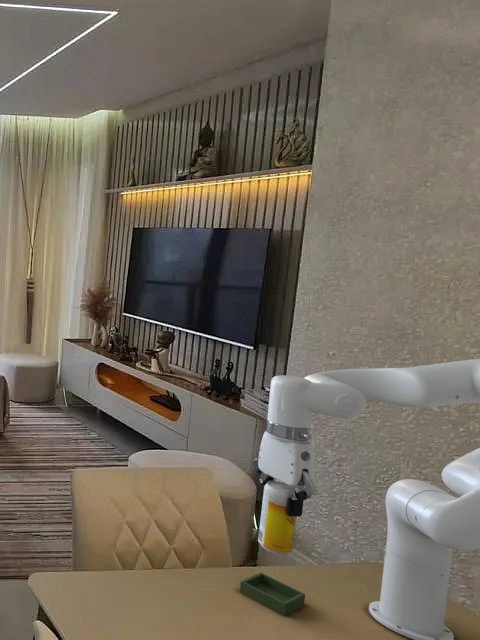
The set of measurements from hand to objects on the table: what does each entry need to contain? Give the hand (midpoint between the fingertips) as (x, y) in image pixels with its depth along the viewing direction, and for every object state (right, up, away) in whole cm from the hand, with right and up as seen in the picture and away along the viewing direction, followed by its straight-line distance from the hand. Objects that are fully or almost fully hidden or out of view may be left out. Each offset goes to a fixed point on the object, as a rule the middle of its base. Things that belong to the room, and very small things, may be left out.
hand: (280, 507), depth 122 cm
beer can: (-1, -10, +1) cm, 10 cm away
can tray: (-1, -22, +1) cm, 22 cm away
